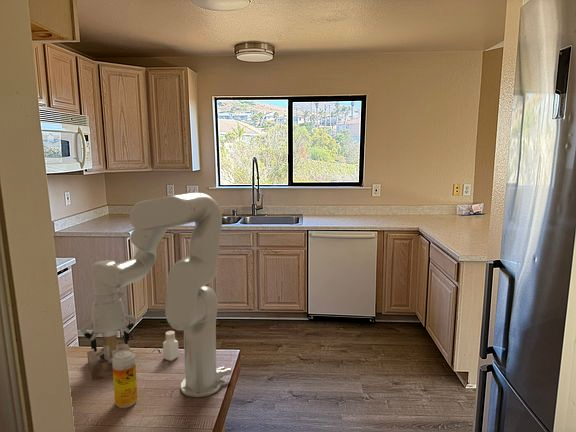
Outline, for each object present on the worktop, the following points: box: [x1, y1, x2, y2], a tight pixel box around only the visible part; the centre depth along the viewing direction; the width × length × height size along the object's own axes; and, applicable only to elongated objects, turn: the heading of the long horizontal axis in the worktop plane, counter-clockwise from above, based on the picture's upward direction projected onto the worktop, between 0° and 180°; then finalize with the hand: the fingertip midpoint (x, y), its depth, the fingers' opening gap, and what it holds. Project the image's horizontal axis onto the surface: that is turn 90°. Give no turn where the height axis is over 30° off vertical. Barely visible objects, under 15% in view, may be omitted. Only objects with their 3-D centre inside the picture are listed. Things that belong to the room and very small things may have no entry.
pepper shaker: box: [162, 330, 180, 362], centre depth 140 cm, size 4×4×10 cm
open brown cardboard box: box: [86, 342, 131, 382], centre depth 135 cm, size 13×14×6 cm
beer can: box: [112, 349, 138, 409], centre depth 114 cm, size 6×6×15 cm
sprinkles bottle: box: [101, 330, 118, 360], centre depth 134 cm, size 5×5×13 cm
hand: (110, 346), depth 134 cm, fingers open, 9 cm apart
